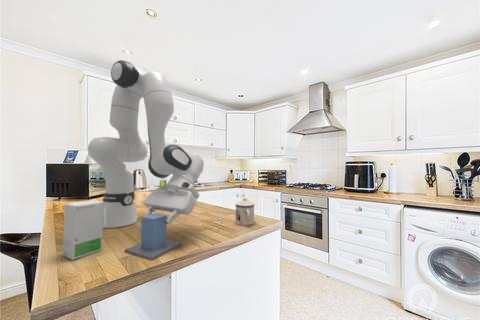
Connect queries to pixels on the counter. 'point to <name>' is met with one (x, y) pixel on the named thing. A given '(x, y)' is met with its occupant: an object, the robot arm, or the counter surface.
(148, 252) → the post
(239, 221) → the teacup with lid
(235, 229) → the counter surface
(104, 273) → the counter surface
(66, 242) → the skincare box
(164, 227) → the blue block
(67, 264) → the counter surface
